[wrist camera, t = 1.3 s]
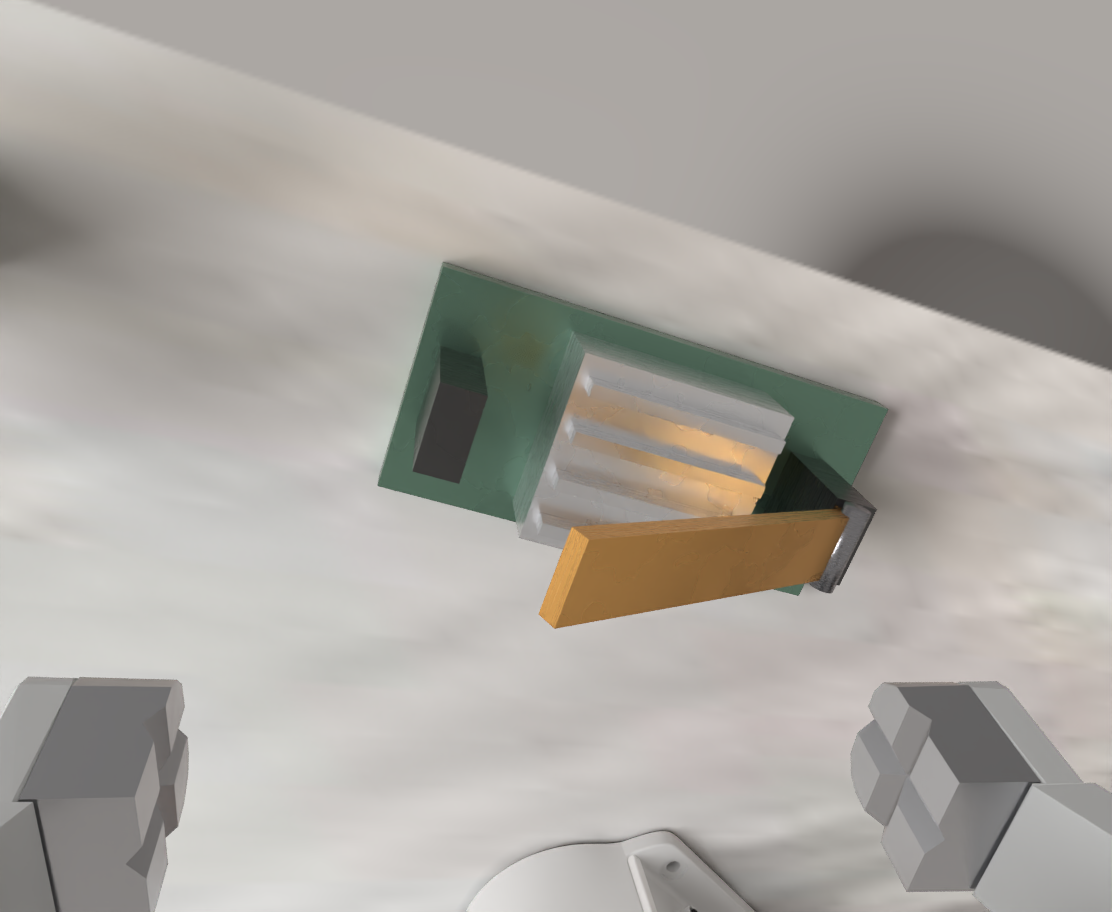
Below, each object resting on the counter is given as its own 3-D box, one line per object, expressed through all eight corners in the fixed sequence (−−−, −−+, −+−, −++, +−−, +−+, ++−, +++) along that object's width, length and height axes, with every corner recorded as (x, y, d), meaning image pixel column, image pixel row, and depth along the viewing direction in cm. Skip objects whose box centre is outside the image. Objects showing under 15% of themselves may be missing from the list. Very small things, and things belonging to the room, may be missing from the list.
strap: (850, 499, 40) (876, 514, 40) (814, 576, 42) (837, 591, 41) (575, 515, 28) (604, 536, 27) (534, 624, 29) (560, 648, 28)
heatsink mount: (877, 401, 46) (948, 450, 40) (790, 584, 50) (842, 657, 43) (442, 261, 41) (443, 291, 35) (379, 476, 45) (368, 539, 38)
